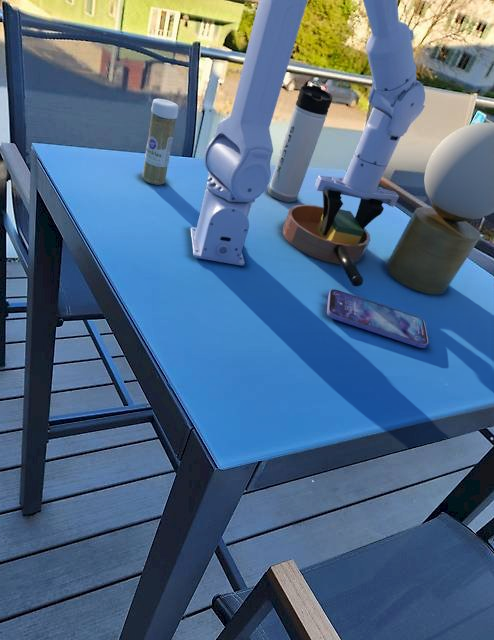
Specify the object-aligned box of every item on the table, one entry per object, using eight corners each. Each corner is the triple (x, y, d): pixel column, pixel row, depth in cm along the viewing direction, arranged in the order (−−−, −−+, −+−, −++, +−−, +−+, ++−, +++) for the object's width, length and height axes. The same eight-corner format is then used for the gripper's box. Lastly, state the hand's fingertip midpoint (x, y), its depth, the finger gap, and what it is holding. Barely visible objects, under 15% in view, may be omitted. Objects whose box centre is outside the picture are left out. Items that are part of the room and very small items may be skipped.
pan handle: (361, 289, 75) (366, 279, 74) (350, 288, 75) (355, 277, 73) (340, 252, 83) (344, 242, 82) (330, 250, 83) (334, 240, 82)
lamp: (381, 243, 95) (453, 103, 79) (451, 270, 94) (539, 132, 77) (375, 275, 84) (457, 118, 68) (454, 305, 82) (558, 153, 66)
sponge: (353, 254, 87) (364, 231, 84) (327, 249, 86) (337, 226, 83) (340, 233, 93) (350, 211, 90) (316, 229, 92) (325, 206, 89)
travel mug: (295, 193, 105) (332, 90, 92) (296, 205, 100) (335, 97, 87) (267, 186, 104) (300, 80, 91) (267, 197, 99) (302, 87, 86)
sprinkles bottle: (137, 179, 90) (148, 99, 82) (148, 173, 94) (159, 96, 85) (159, 187, 90) (172, 108, 81) (169, 181, 93) (183, 104, 85)
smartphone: (429, 346, 69) (328, 312, 69) (426, 351, 69) (325, 318, 70) (424, 318, 74) (330, 287, 74) (421, 323, 75) (328, 292, 75)
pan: (372, 270, 85) (382, 252, 83) (291, 255, 82) (299, 236, 80) (347, 230, 96) (355, 213, 94) (275, 216, 93) (281, 198, 91)
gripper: (401, 159, 84) (366, 232, 93) (323, 141, 81) (295, 218, 90) (417, 175, 79) (378, 250, 88) (335, 156, 76) (304, 236, 85)
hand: (337, 235), depth 89 cm, fingers closed on sponge, 5 cm apart
